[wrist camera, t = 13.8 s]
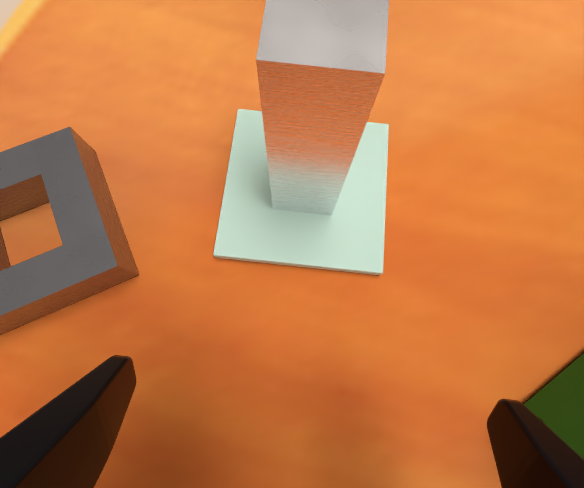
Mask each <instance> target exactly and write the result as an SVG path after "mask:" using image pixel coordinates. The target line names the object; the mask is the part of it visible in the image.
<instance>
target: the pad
mask: <svg viewBox="0 0 584 488" xmlns="http://www.w3.org/2000/svg"><path fill="white" fill-rule="evenodd" d="M388 128H389V124H382V123H372V122H367V123H366V126H365V128H364V131H363V134H362V136H361V139H360V142H359V144H358V147H357V150H356V152H355V155H354V158H353V160H352V163H351V166H350V169H349V171H348V174H347V177H346V179H345V182H344V185H343V187H342V190H341V193H340V195H339V198H338V201H337V203H336V206H335V209H334V211H333V214H332V216H330V215H322V214H313V213H304V212H295V211H286V210H277V209H273V207H272V198H271V189H270V180H269V171H268V162H267V153H266V144H265V135H264V126H263V117H262V111H254V110H244V109H238V113H237V119H236V124H235V130H234V136H233V142H232V148H231V154H230V160H229V166H228V172H227V178H226V183H225V189H224V195H223V201H222V207H221V213H220V219H219V225H218V231H217V236H216V242H215V248H214V254H213V255H214V256H215V257H216V258H223V259H232V260H242V261H251V262H260V263H270V264H279V265H288V266H298V267H307V268H316V269H326V270H335V271H344V272H354V273H363V274H372V275H381V274H382V273H383V258H384V232H385V206H386V180H387V154H388Z"/></svg>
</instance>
